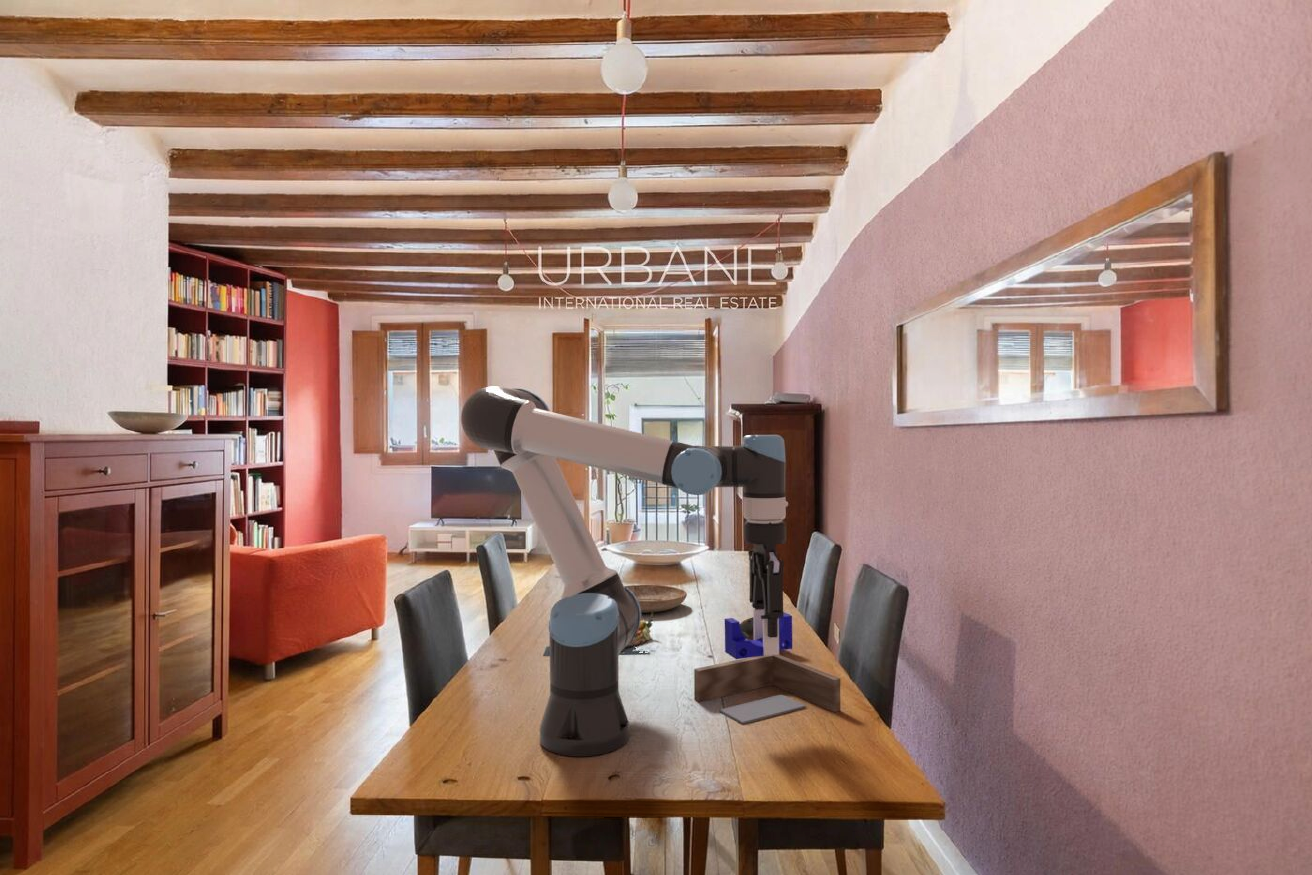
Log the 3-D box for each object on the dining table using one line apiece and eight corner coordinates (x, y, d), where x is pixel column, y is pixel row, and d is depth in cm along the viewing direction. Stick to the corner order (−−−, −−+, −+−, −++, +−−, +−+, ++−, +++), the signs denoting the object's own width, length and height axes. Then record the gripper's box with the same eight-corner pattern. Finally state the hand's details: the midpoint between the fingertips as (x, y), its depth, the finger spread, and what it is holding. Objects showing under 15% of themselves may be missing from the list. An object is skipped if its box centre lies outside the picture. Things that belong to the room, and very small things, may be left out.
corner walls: (756, 733, 127) (756, 699, 127) (694, 699, 144) (694, 668, 144) (840, 710, 138) (840, 678, 138) (773, 681, 154) (773, 652, 154)
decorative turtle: (791, 658, 170) (788, 623, 169) (726, 656, 174) (724, 623, 174) (796, 644, 179) (793, 611, 179) (734, 643, 183) (732, 611, 183)
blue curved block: (736, 659, 128) (735, 624, 128) (725, 652, 132) (724, 618, 132) (796, 651, 132) (796, 617, 132) (784, 644, 137) (783, 611, 136)
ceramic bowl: (687, 618, 206) (687, 600, 206) (603, 618, 207) (603, 600, 207) (685, 599, 230) (685, 583, 230) (610, 599, 230) (610, 583, 230)
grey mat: (742, 724, 131) (742, 722, 131) (719, 711, 137) (719, 709, 137) (805, 707, 139) (805, 705, 139) (781, 696, 145) (781, 694, 145)
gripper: (802, 526, 124) (803, 664, 124) (769, 514, 142) (771, 634, 142) (759, 527, 123) (760, 666, 123) (731, 515, 141) (733, 636, 141)
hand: (766, 649), depth 133 cm, fingers closed on blue curved block, 5 cm apart
